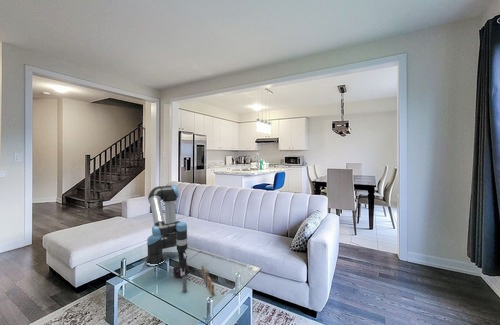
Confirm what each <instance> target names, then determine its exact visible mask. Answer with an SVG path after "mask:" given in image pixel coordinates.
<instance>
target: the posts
mask: <svg viewBox="0 0 500 325" xmlns="http://www.w3.org/2000/svg"><path fill="white" fill-rule="evenodd" d="M207 276H209V277H210V271H209V270H207V269H206V282H205V285H206V287H207ZM187 278H188V276H187V274H186V275H182V277H181V280H182V293H184V294H185V293H187V292H188V286H187V285H188V284H187V281H188V280H187Z"/></svg>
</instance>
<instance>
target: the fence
mask: <svg viewBox="0 0 500 325" xmlns="http://www.w3.org/2000/svg"><path fill="white" fill-rule="evenodd" d="M206 287H207V289H208V290H209V293H210V294H211V296H212V297H213V296H215V284H214V282H213V280H212V279H211V277H210V275H209V276H207V286H206Z"/></svg>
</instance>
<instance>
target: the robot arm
mask: <svg viewBox="0 0 500 325" xmlns="http://www.w3.org/2000/svg"><path fill="white" fill-rule="evenodd" d="M179 196H180V195H179V190H178V187H177V185H171V184H170V185H169V184H168V185H162V186H161V185H160V186H156V187H154V188H152V190H150V192H149V193H148V197H147V198H148V203H149V204H150V209H151V215H152V220H153V226H152V227H151V235H150V236H148V237H147V242H146V245H147V256H146V259H145V263H146V262H147V263H150V264H158V265H155V266H154V267H158V266H160V265H162V264H164V263H165V261H166V258H165V257H166V256H165V255H164V253H163V250H164V249H165V250H166V249H169V248H174V247H176V251H177V254H178V263H179V265H180V266H181V267H180V269H181V276H182V275H185V267H186V263H187V259H188V256H187V253H186V250H188V226H187V225H188V224H187V222H185V221H180V220H177V218H176V202H177V201H178V200H177V199H179ZM161 200H162V203H164V212H163V209H162V203H161ZM164 260H165V261H164ZM163 261H164V262H163ZM161 262H163V263H161ZM159 263H161V264H159Z"/></svg>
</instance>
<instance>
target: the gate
mask: <svg viewBox="0 0 500 325" xmlns="http://www.w3.org/2000/svg"><path fill="white" fill-rule="evenodd" d="M206 271H207V269H206V268H205V267H204V265H202V266H201V276H202V278H203V280H204V283H206Z"/></svg>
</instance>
